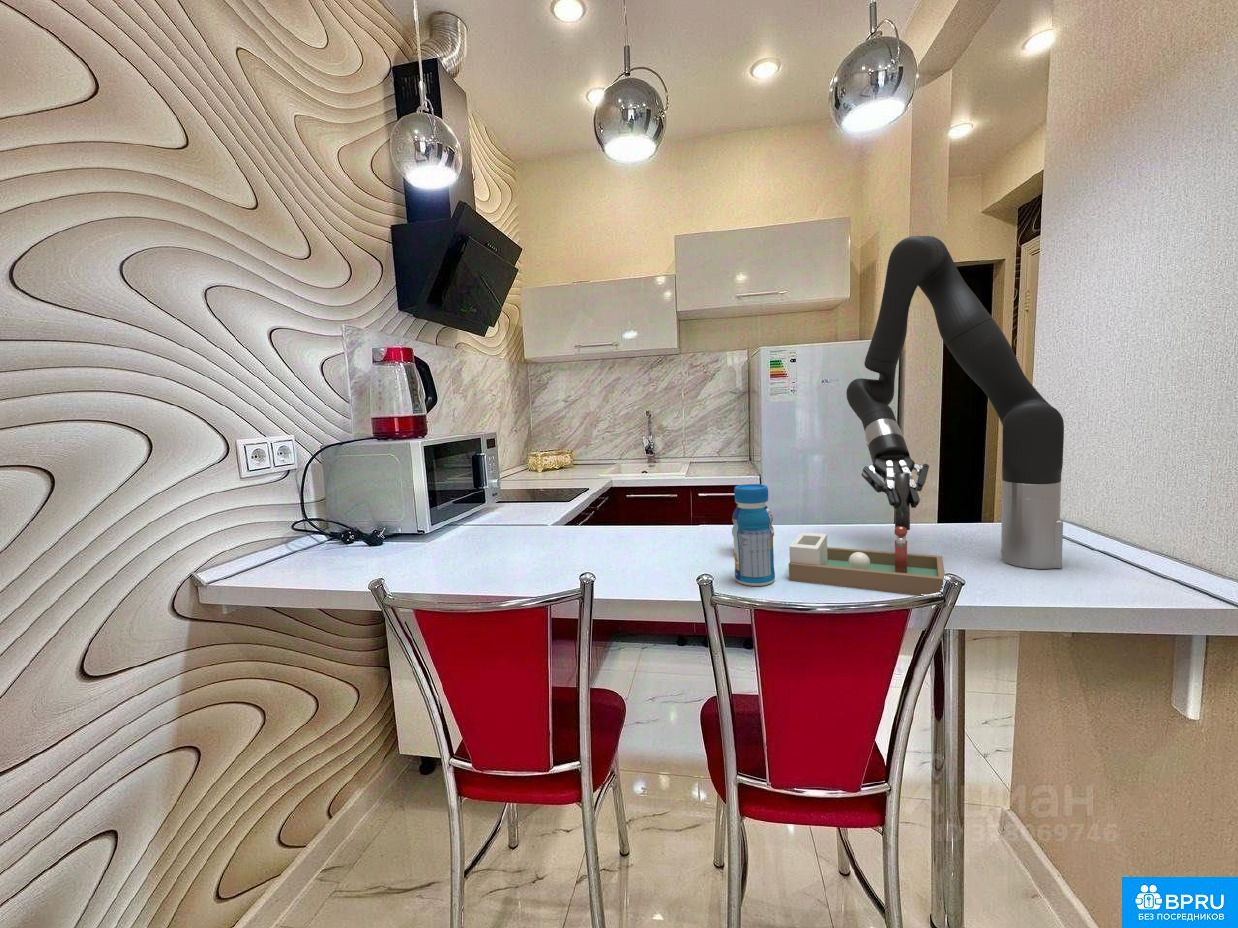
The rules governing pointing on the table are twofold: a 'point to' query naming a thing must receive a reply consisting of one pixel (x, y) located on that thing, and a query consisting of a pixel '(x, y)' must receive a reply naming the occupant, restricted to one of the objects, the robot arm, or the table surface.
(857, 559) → the ball
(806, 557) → the pitch
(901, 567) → the rod
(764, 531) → the beverage bottle
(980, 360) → the robot arm
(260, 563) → the table surface
